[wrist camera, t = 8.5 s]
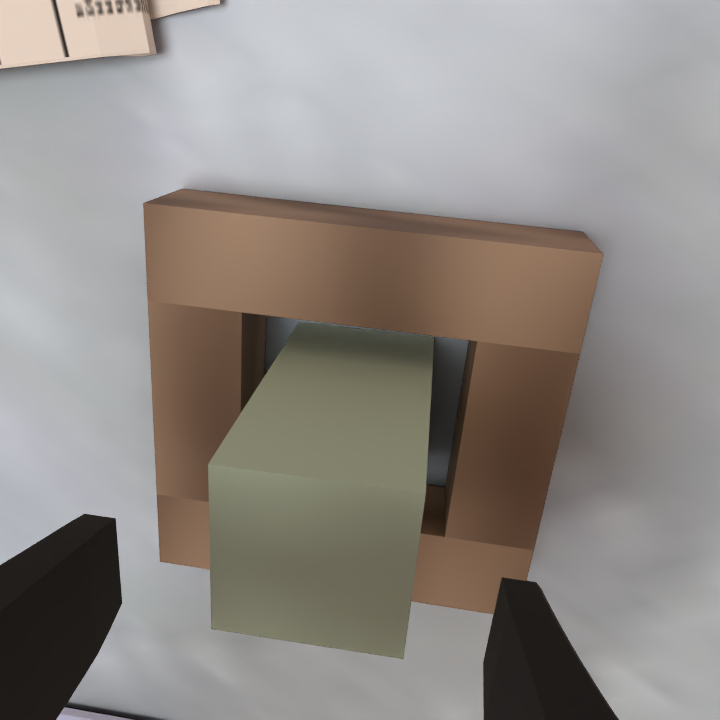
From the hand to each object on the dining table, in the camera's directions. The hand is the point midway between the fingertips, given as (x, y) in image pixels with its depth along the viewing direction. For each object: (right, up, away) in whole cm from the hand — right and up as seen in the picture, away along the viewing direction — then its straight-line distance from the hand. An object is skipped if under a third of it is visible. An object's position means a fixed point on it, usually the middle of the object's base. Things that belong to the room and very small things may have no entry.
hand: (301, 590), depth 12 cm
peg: (+1, +3, +8) cm, 9 cm away
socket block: (+1, +3, +8) cm, 9 cm away
